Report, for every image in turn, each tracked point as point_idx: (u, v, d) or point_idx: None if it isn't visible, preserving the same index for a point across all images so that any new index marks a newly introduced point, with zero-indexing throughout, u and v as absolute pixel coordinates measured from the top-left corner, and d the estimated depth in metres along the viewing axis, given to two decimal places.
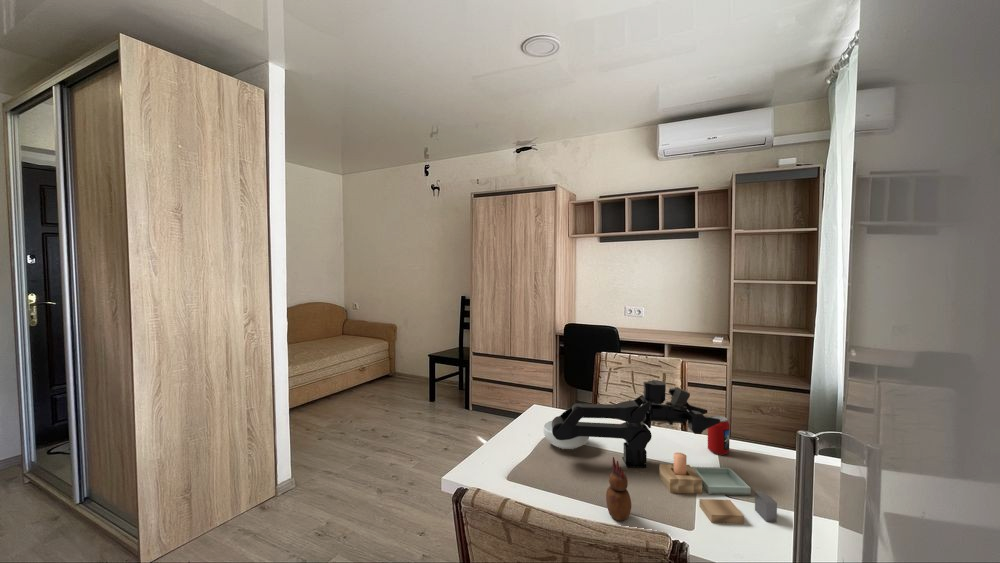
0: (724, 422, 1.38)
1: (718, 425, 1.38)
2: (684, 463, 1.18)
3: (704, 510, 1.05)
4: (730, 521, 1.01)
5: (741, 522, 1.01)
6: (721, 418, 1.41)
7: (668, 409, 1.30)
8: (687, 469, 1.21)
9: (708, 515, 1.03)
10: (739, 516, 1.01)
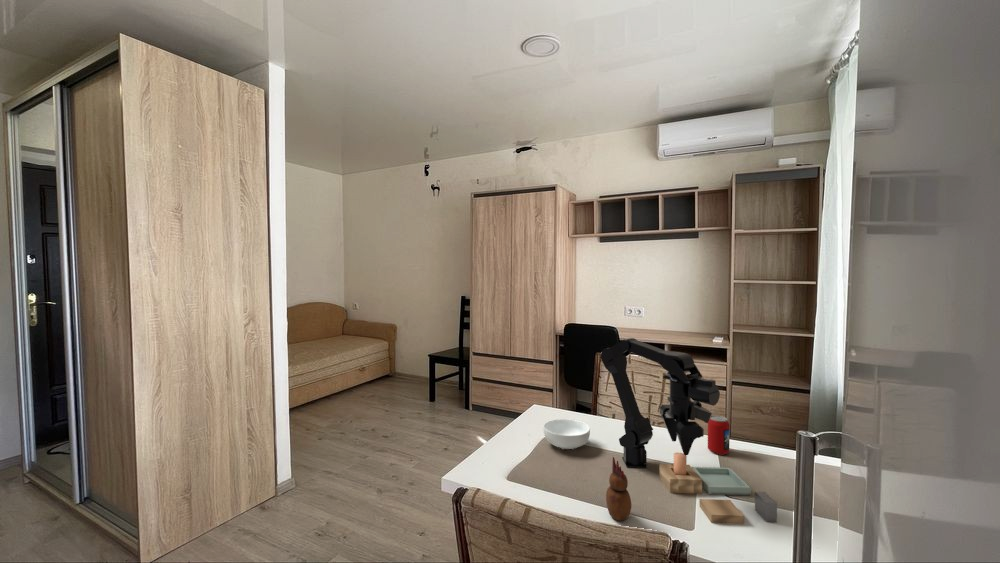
0: (724, 422, 1.38)
1: (718, 425, 1.38)
2: (684, 463, 1.18)
3: (704, 510, 1.05)
4: (730, 521, 1.01)
5: (741, 522, 1.01)
6: (721, 418, 1.41)
7: (689, 400, 1.17)
8: (687, 469, 1.21)
9: (708, 515, 1.03)
10: (739, 516, 1.01)
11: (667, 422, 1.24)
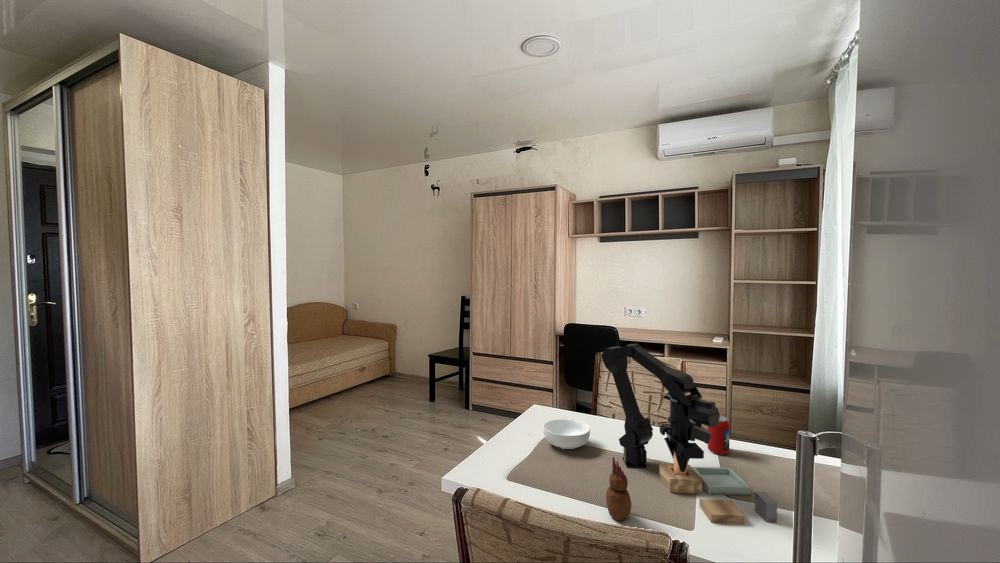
0: (724, 422, 1.38)
1: (718, 425, 1.38)
2: None
3: (704, 510, 1.06)
4: (730, 521, 1.01)
5: (741, 522, 1.01)
6: (721, 418, 1.41)
7: (689, 421, 1.17)
8: (687, 469, 1.21)
9: (708, 514, 1.03)
10: (739, 516, 1.01)
11: (670, 445, 1.22)
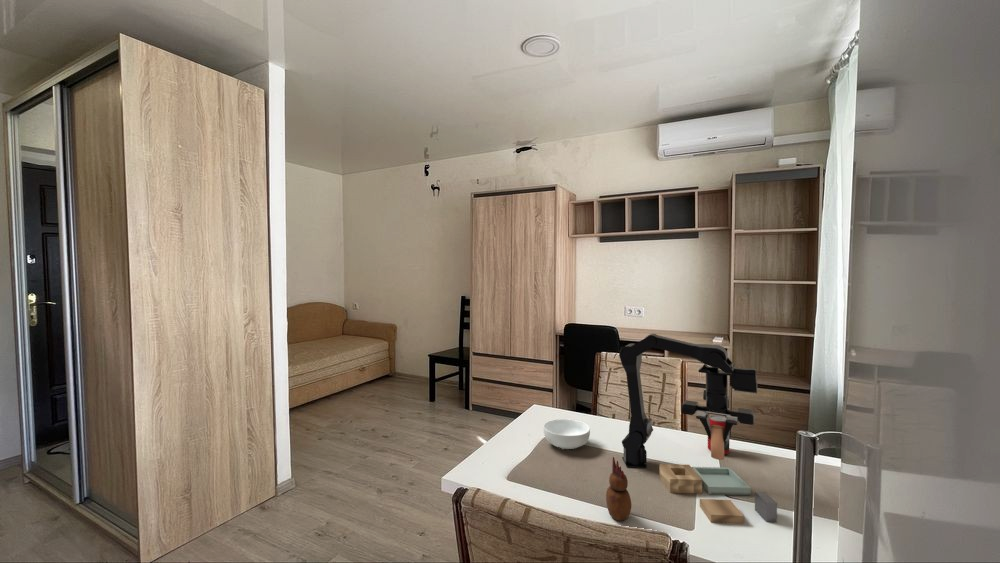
0: (724, 422, 1.38)
1: None
2: None
3: (704, 510, 1.06)
4: (730, 521, 1.01)
5: (741, 522, 1.01)
6: (721, 418, 1.41)
7: None
8: (687, 469, 1.21)
9: (707, 514, 1.03)
10: (739, 516, 1.01)
11: (707, 421, 1.19)
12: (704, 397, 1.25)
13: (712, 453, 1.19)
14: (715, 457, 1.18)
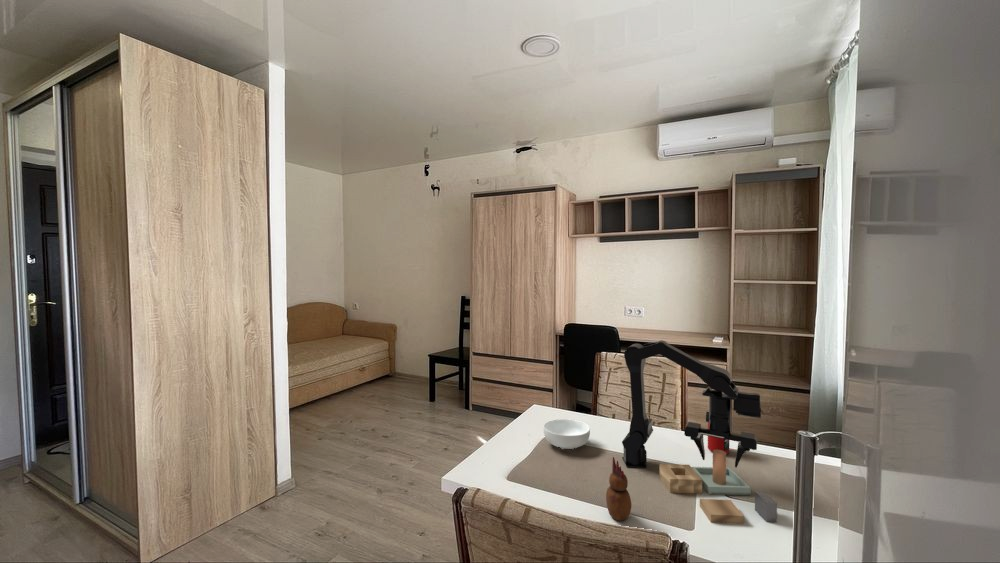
0: None
1: None
2: None
3: (704, 510, 1.06)
4: (730, 521, 1.01)
5: (741, 522, 1.01)
6: None
7: None
8: (687, 469, 1.21)
9: (707, 514, 1.03)
10: (739, 516, 1.01)
11: (701, 443, 1.20)
12: (707, 419, 1.25)
13: (714, 478, 1.19)
14: (717, 482, 1.19)
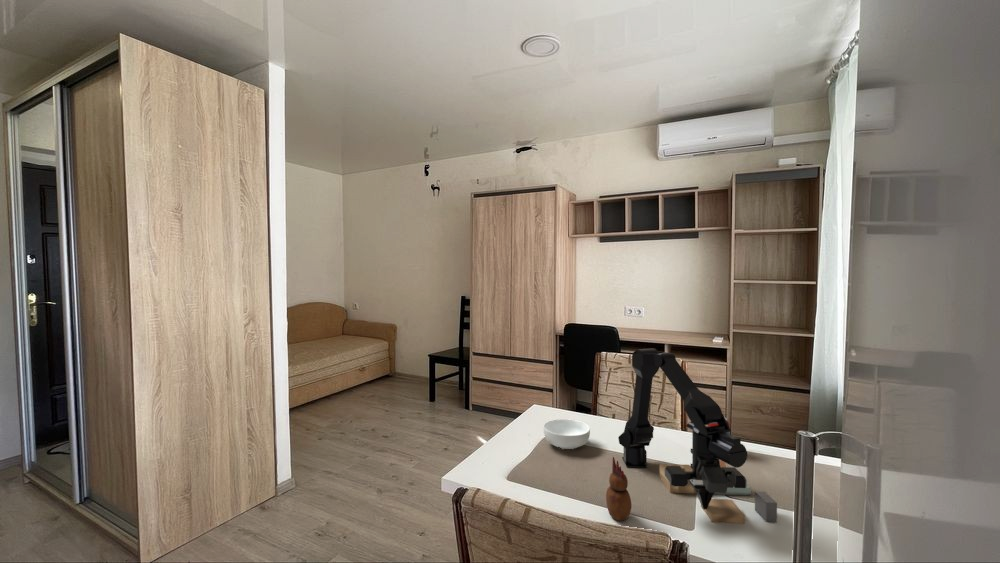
0: None
1: None
2: None
3: (705, 509, 1.06)
4: (731, 520, 1.01)
5: (742, 522, 1.01)
6: None
7: (699, 455, 1.03)
8: (687, 469, 1.21)
9: (708, 514, 1.04)
10: (740, 516, 1.01)
11: (703, 482, 1.07)
12: None
13: None
14: None
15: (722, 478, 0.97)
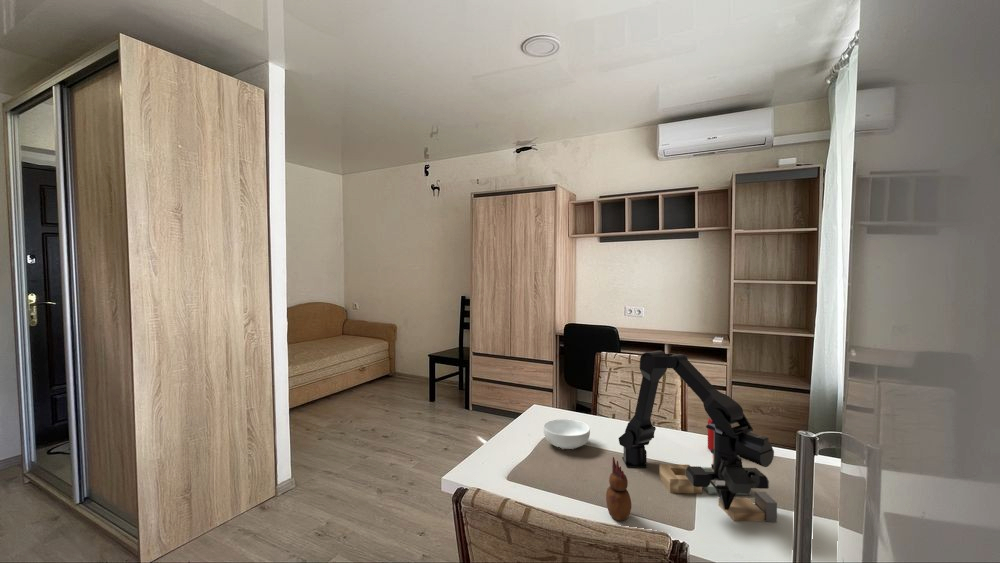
0: None
1: None
2: None
3: None
4: (752, 519, 1.02)
5: (762, 519, 1.02)
6: None
7: (721, 455, 1.02)
8: None
9: (729, 513, 1.04)
10: (761, 513, 1.02)
11: None
12: None
13: None
14: None
15: (745, 479, 0.97)
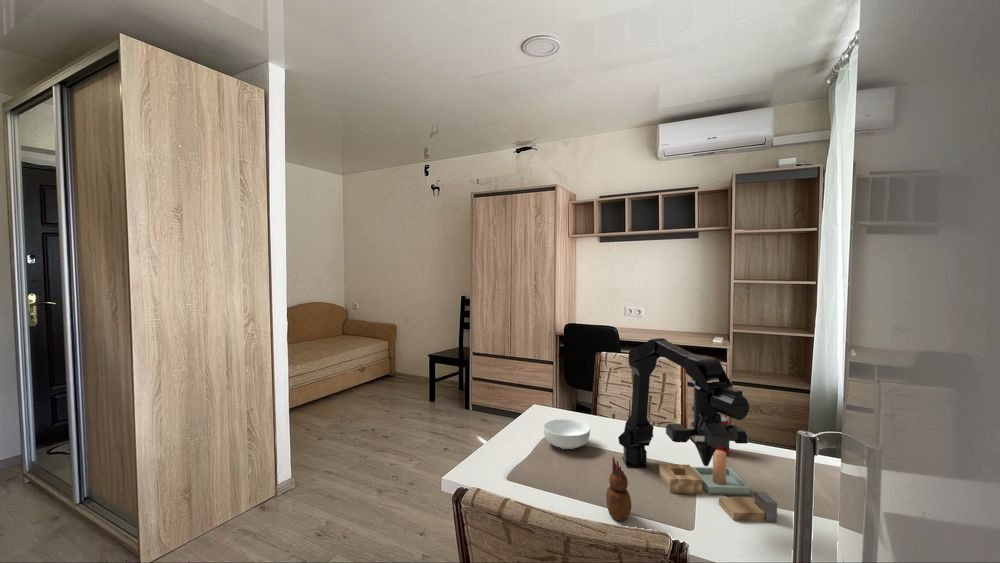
0: (724, 422, 1.38)
1: None
2: None
3: (725, 508, 1.06)
4: (751, 518, 1.02)
5: (762, 519, 1.02)
6: (721, 418, 1.41)
7: (701, 411, 1.02)
8: (687, 469, 1.21)
9: (729, 513, 1.04)
10: (761, 513, 1.02)
11: (704, 440, 1.06)
12: None
13: (714, 478, 1.19)
14: (717, 482, 1.19)
15: (724, 432, 0.97)
